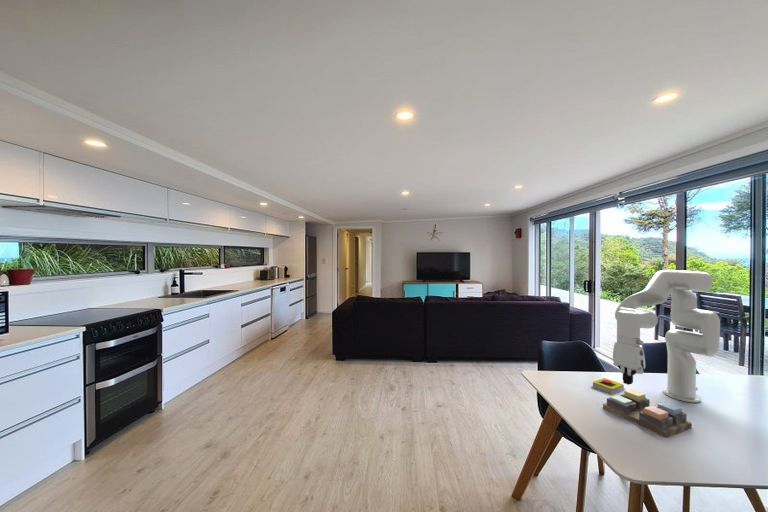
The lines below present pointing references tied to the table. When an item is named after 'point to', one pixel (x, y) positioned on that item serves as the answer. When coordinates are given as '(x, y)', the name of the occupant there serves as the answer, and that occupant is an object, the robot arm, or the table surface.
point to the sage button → (621, 400)
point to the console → (648, 417)
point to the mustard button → (634, 395)
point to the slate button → (670, 408)
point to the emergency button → (608, 386)
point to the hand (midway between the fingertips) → (627, 383)
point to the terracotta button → (656, 413)
